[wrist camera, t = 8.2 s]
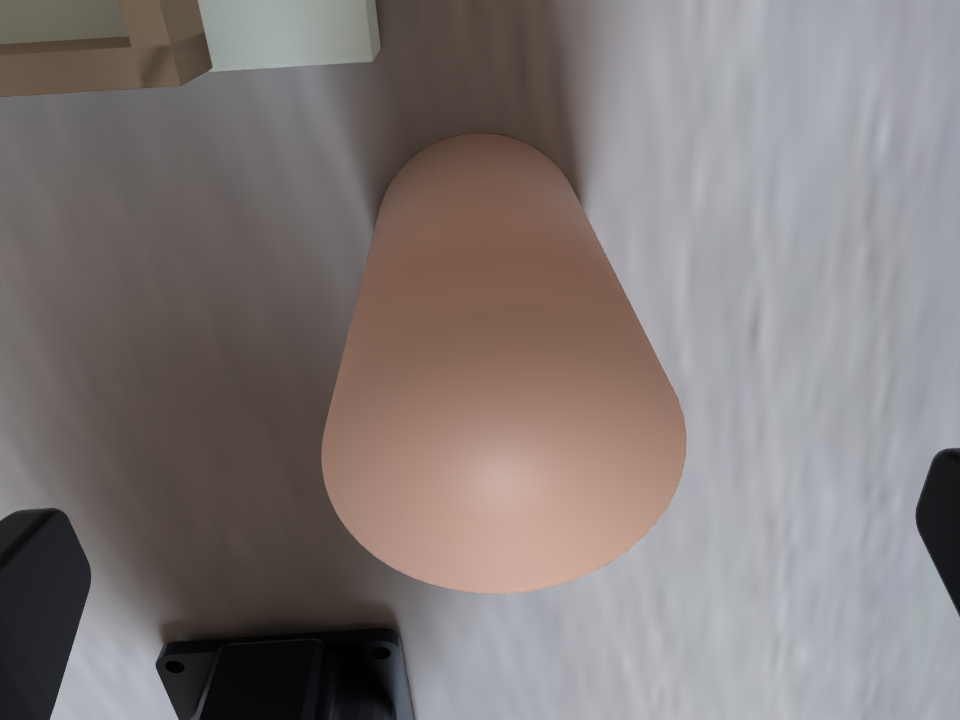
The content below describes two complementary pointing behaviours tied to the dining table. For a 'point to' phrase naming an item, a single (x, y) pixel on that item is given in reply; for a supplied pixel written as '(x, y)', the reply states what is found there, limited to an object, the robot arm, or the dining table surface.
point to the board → (172, 40)
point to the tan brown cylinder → (496, 382)
